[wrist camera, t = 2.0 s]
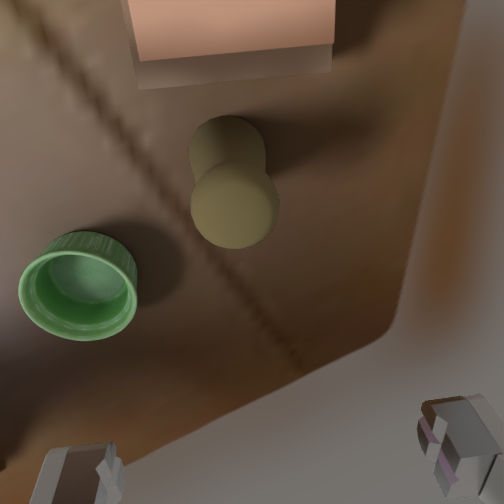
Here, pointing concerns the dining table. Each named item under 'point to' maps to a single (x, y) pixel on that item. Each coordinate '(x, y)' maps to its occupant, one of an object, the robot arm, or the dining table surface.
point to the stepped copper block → (227, 39)
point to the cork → (231, 184)
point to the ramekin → (81, 287)
